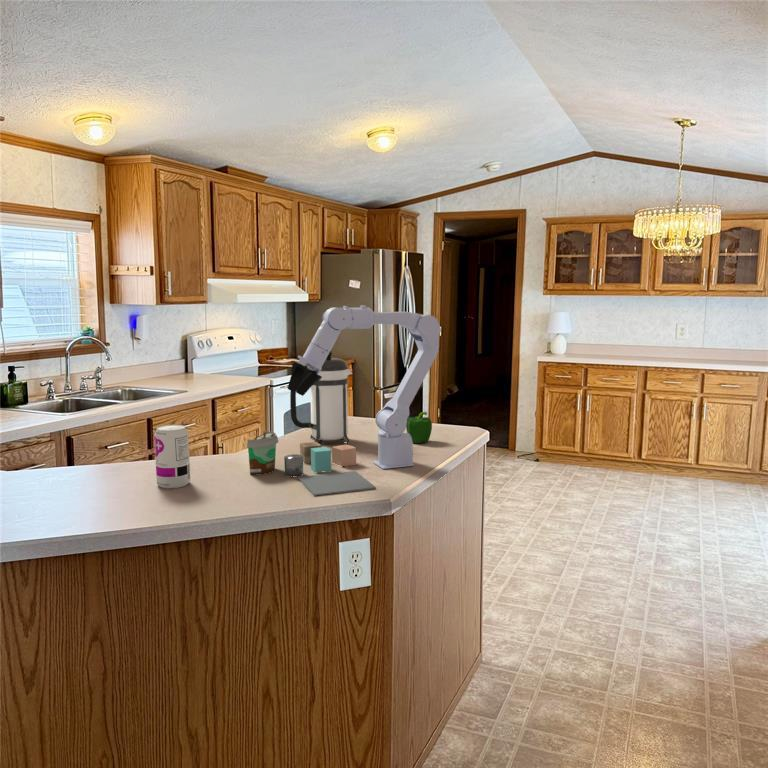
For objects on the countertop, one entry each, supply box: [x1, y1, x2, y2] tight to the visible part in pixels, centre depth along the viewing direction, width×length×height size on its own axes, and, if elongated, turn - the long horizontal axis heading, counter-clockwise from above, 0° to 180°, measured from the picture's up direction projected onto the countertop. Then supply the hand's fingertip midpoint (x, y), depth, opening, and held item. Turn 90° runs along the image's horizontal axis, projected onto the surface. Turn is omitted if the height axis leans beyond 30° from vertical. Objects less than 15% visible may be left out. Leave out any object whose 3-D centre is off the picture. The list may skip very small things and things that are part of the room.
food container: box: [246, 430, 279, 476], centre depth 184 cm, size 12×6×10 cm, turn 168°
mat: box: [297, 470, 377, 497], centre depth 172 cm, size 16×16×1 cm
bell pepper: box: [405, 411, 433, 444], centre depth 218 cm, size 8×8×10 cm
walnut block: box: [299, 441, 322, 464], centre depth 195 cm, size 5×5×5 cm
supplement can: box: [153, 424, 191, 489], centre depth 171 cm, size 8×8×15 cm
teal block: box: [310, 446, 332, 473], centre depth 185 cm, size 4×4×6 cm
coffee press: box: [289, 350, 353, 445], centre depth 217 cm, size 17×16×30 cm
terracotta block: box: [331, 443, 357, 467], centre depth 191 cm, size 5×5×5 cm
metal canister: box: [283, 453, 304, 478], centre depth 181 cm, size 5×5×5 cm
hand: (295, 392), depth 179 cm, fingers open, 7 cm apart
